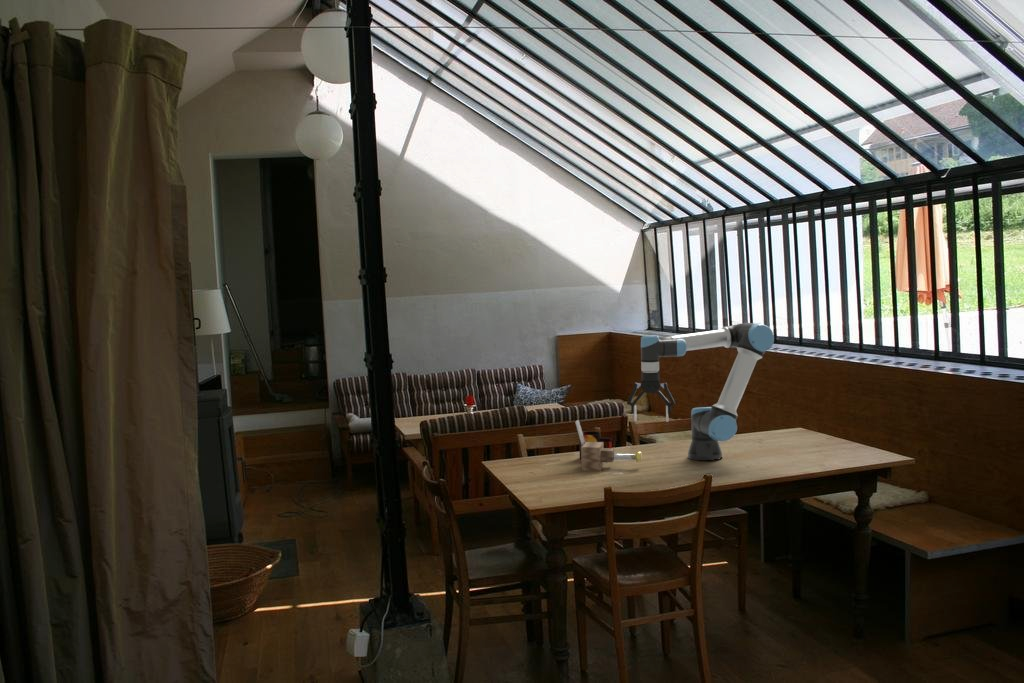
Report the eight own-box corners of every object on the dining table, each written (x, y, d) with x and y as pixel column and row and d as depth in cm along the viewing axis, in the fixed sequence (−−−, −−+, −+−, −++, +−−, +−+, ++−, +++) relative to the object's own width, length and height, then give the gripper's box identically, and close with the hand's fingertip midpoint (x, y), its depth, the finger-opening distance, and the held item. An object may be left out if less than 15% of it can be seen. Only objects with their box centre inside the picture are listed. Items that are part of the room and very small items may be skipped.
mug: (612, 460, 381) (611, 433, 380) (582, 461, 378) (582, 435, 377) (606, 455, 390) (605, 430, 389) (577, 457, 388) (576, 432, 387)
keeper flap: (578, 419, 369) (576, 420, 369) (576, 421, 364) (575, 421, 365) (585, 441, 369) (583, 442, 369) (583, 443, 364) (581, 444, 365)
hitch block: (615, 464, 370) (614, 440, 369) (611, 470, 358) (611, 445, 358) (585, 464, 373) (584, 439, 372) (580, 470, 362) (579, 444, 361)
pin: (641, 461, 363) (641, 450, 363) (640, 463, 359) (640, 452, 358) (595, 460, 368) (595, 449, 368) (594, 462, 364) (594, 451, 363)
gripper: (680, 370, 358) (681, 420, 359) (622, 370, 364) (623, 419, 366) (679, 372, 350) (680, 422, 352) (619, 372, 357) (621, 422, 358)
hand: (651, 421), depth 359 cm, fingers open, 13 cm apart
